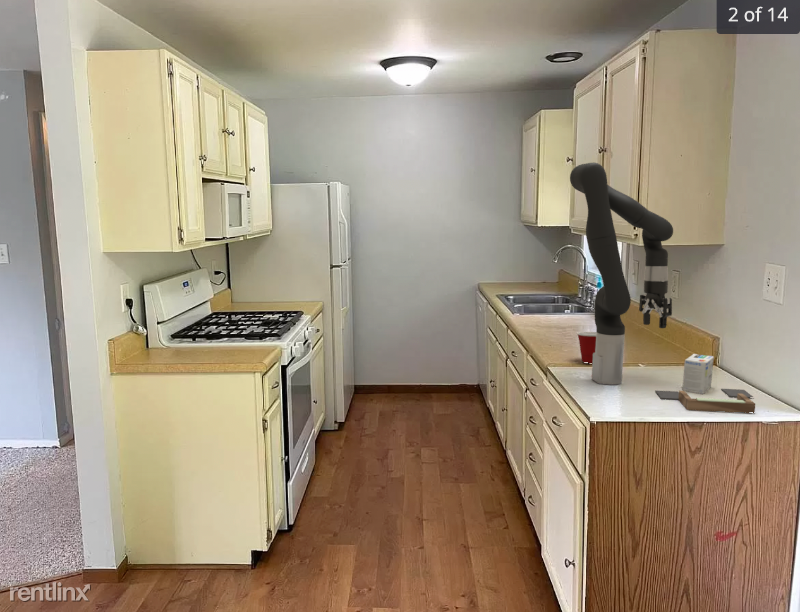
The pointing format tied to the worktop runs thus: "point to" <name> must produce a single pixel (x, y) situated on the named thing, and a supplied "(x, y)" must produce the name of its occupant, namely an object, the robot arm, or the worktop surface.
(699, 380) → the light bulb box
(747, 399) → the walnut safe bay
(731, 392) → the pads
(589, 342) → the plastic cup
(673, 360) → the worktop surface
